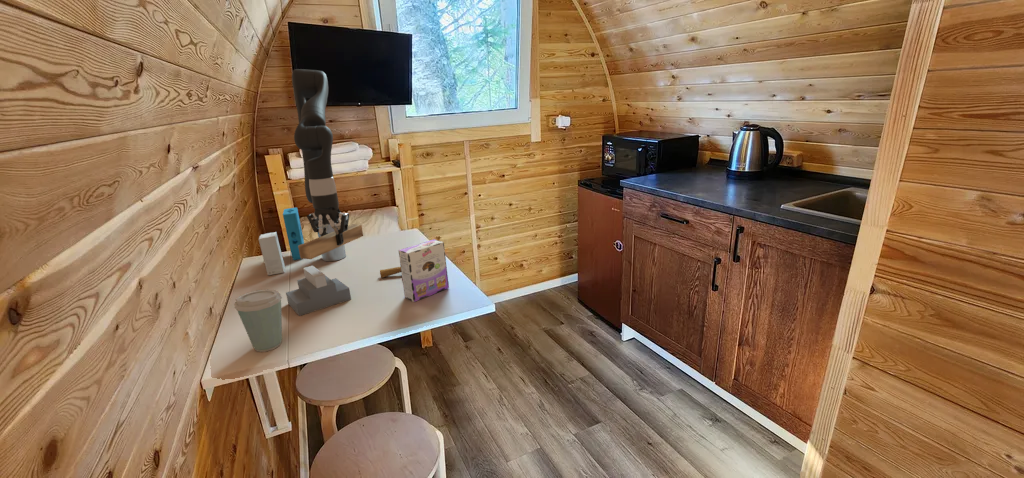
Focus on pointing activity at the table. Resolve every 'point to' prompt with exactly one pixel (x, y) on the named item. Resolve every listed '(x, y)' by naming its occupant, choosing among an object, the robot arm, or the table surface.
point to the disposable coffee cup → (261, 318)
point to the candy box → (423, 269)
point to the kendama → (390, 271)
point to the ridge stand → (316, 292)
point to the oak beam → (328, 242)
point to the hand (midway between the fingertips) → (333, 244)
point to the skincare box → (271, 253)
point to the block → (293, 231)
